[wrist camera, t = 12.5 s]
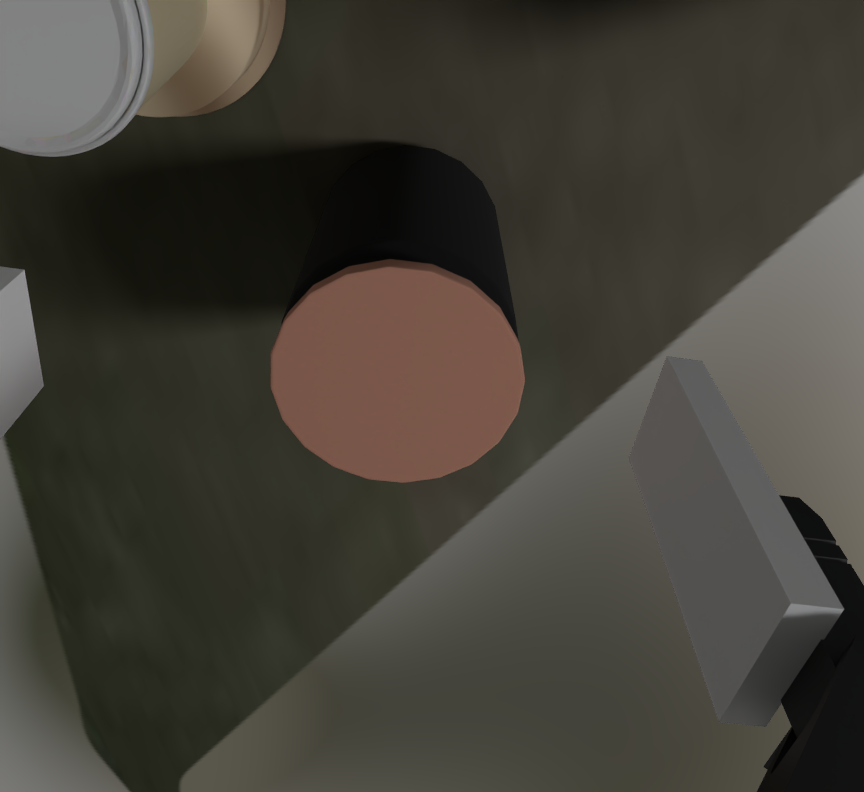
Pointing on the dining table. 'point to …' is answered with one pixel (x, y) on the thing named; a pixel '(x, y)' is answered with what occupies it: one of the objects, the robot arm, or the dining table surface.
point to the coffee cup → (86, 67)
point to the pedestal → (223, 59)
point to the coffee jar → (401, 323)
